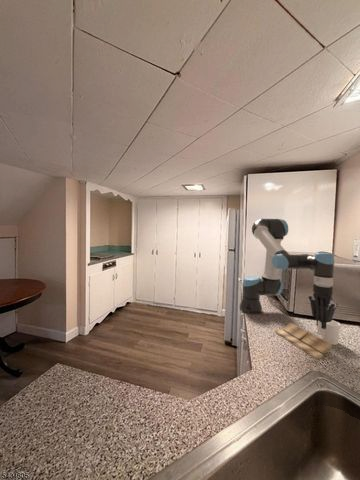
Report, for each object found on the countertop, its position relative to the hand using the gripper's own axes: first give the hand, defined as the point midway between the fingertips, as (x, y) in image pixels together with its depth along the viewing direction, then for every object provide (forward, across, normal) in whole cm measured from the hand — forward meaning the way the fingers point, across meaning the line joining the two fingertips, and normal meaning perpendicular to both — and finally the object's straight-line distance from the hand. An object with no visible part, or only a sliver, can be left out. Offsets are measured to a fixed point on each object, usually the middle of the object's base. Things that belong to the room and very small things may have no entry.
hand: (320, 334), depth 97 cm
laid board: (+7, -6, -8) cm, 12 cm away
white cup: (+7, -3, +10) cm, 13 cm away
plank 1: (+4, -12, -2) cm, 13 cm away
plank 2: (+4, 0, -2) cm, 5 cm away
